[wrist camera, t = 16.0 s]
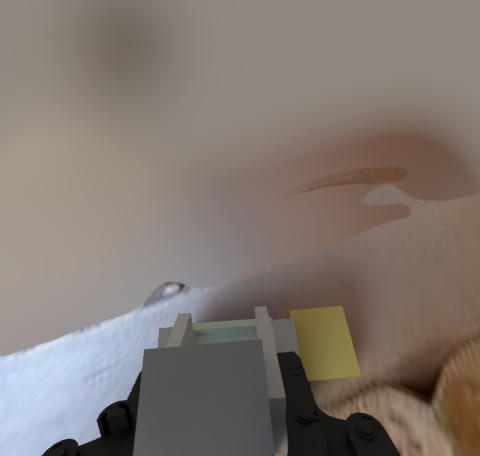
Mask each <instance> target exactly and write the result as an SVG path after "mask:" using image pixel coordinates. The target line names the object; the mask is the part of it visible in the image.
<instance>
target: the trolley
mask: <svg viewBox="0 0 480 456" xmlns="http://www.w3.org/2000/svg"><path fill="white" fill-rule="evenodd" d="M269 320H270V325H271V330H272V334H273V339H274V344H275V348H276V353H281V352H292V351H294V352H295V353H296V354H297V355H298V356H299V357H300V355H299V349H298V343H297V337H296V330H295V324H294V318H288V319H275V320H272V317H270V318H269ZM192 325H193V332H194V338H195V344H196V345H200V344H211V343H222V342H233V341H244V340H255V339H257V330H256V319H244V320H231V321H218V322H205V323H192ZM172 330H173V327H170V328H160V329H159V340H158V348H166V345H167V342H168V340H169V337H170V335H171V332H172Z"/></svg>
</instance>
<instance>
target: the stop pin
mask: <svg viewBox="0 0 480 456" xmlns="http://www.w3.org/2000/svg"><path fill="white" fill-rule="evenodd" d="M133 456H275V452H274V443H273V434H272V425H271V416H270V407H269V398H268V389H267V380H266V371H265V362H264V353H263V344H262V339H255V340H244V341H233V342H222V343H211V344H200V345H189V346H178V347H167V348H156V349H145V350H144V357H143V367H142V376H141V385H140V395H139V404H138V413H137V423H136V432H135V441H134V451H133Z"/></svg>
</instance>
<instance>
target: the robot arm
mask: <svg viewBox="0 0 480 456" xmlns="http://www.w3.org/2000/svg"><path fill="white" fill-rule="evenodd" d="M254 308H255V319H256V330H257V339H262V344H263V353H264V362H265V371H266V380H267V389H268V398H269V407H270V416H271V425H272V434H273V443H274V452H275V454H277V453H287V456H401V455H400V454H399V452H398V450H397V449H396V447H395V445H394V444H393V442H392V440H391V439H390V437H389V435H388V434H387V432H386V430H385V429H384V427H383V426H382V425H381V423H380V422H379V421H378V420H377V419H375V418H374V417H372V416H371V415H368V414H365V413H354V414H351V415H350V416H349V417H348V418H347V420H342V419H338V418H334V417H331V416H329V415H327V414H325V413H324V412H322V411H321V410H320V409H319V407H318V406H317V405H316V403H315V400H314V397H313V394H312V391H311V388H310V385H309V382H308V379H307V376H306V373H305V370H304V367H303V364H302V361H301V358H300V357H299V356H298V355H297V354H296V353H295V352H294V351H292V352H281V353H276V348H275V344H274V339H273V334H272V330H271V325H270V320H269V315H268V311H267V306H261V307H254ZM189 345H196V344H195V338H194V332H193V325H192V319H191V313H185V314H178V317H177V319H176V322H175V324H174V327H173V330H172V332H171V335H170V337H169V340H168V342H167V345H166V348H167V347H178V346H189ZM141 376H142V371H141V372H140V373H139V375H138V377H137V379H136V382H135V384H134V386H133V388H132V392H130V395H129V397H128V399H127V401H126V400H123V401H118V402H115V403H112V404H111V405H109V406H108V407H106V408H105V409H104V410H103V411H102V412H101V414H100V415H99V417H98V419H97V423H98V427H99V430H100V434H101V437H100V438H98V439H96V440H93V441H91V442H88V443H85V444H83V445H80V446H78V443H77V442H76V441H75V440H74V439H65V440H62V441H60V442H58V443H56V444H54V445H53V446H51V447H50V448H49V449H48V450H46V451H45V453H44V454H43V455H42V456H133V451H134V441H135V432H136V423H137V413H138V404H139V395H140V385H141Z"/></svg>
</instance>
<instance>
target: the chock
mask: <svg viewBox="0 0 480 456" xmlns="http://www.w3.org/2000/svg"><path fill="white" fill-rule="evenodd" d="M288 318H294V324H295V330H296V337H297V343H298V349H299V355H300V358H301V361H302V364H303V367H304V370H305V373H306V376H307V379H308V381H317V380H328V379H340V378H352V377H362V376H361V372H360V368H359V365H358V361H357V358H356V354H355V350H354V347H353V343H352V339H351V336H350V332H349V328H348V325H347V321H346V318H345V314H344V310H343V307H342V306H332V307H321V308H310V309H299V310H289V312H288V315H287V317H286V319H288Z"/></svg>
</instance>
